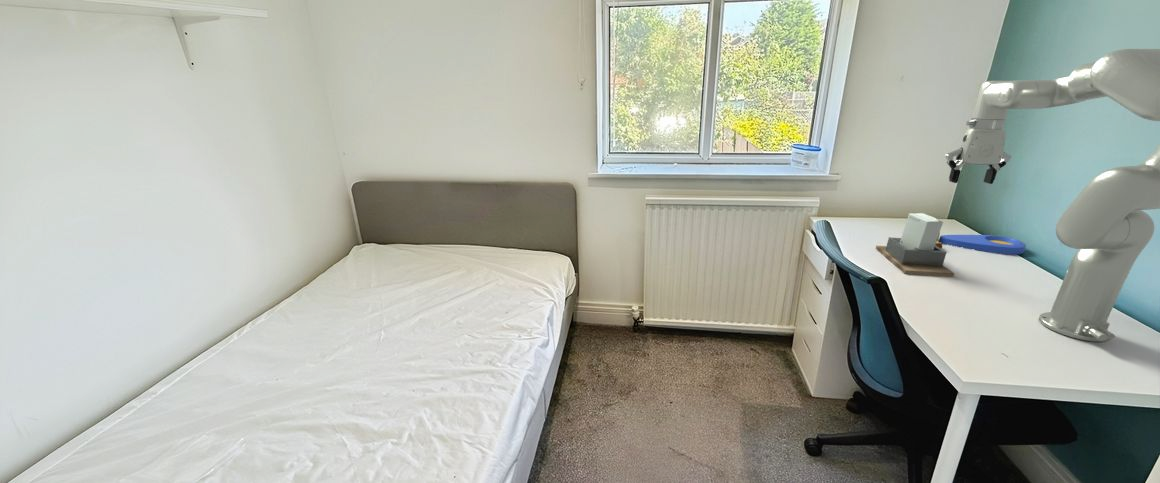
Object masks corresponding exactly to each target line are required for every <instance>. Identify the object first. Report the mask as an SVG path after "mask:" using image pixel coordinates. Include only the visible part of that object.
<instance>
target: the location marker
mask: <svg viewBox="0 0 1160 483" xmlns="http://www.w3.org/2000/svg"><path fill="white" fill-rule="evenodd" d="M938 239H939V240H938V242H941V244H943V243H944V245H947V244H948V245H947V246H951V245H952V247H956V246H957V248H961V247H963V248H962V249H968V250H972V249H974V251H979V252H985V253H992V254H1000V253H1001V254H1002V255H1011V256H1012V255H1022V254H1023V253H1025V250H1026V247H1027V245H1026V243H1025V242H1023V241H1021V240H1019V239H1014V238H1010V237H1008V236H1003V235H1002V236H1001V235H990V234H945V235H943V234H941V235H939V238H938Z"/></svg>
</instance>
